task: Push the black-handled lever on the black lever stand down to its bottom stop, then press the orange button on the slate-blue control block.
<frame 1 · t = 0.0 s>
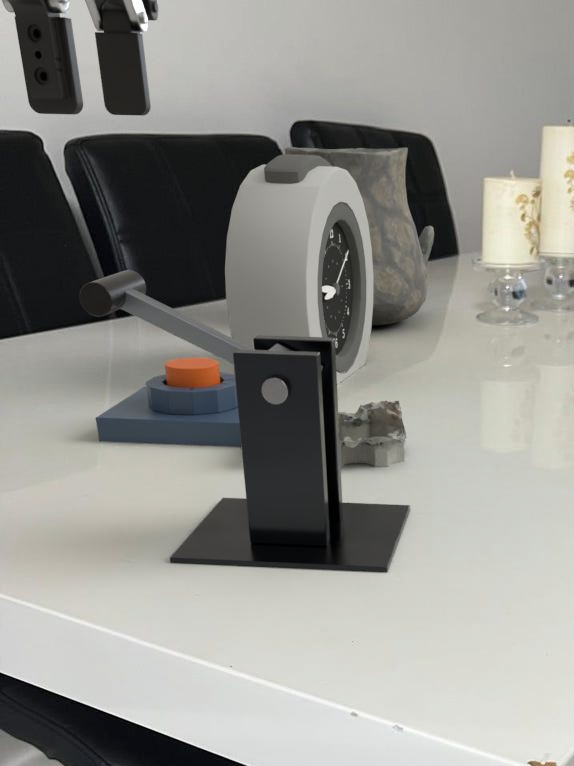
hand: (95, 114, 49), 23 cm above the table, tool pointing down, fingers open, 8 cm apart
start button: (192, 374, 77), point 5 cm above the table, slide at 0.1 cm
control block: (199, 437, 79), on the table
black lever stand: (299, 548, 59), on the table
vessel: (354, 324, 126), on the table
egg carton: (334, 468, 73), on the table
alarm clock: (311, 377, 99), on the table
toaster lever: (207, 338, 54), point 12 cm above the table, hinge at 25.0°
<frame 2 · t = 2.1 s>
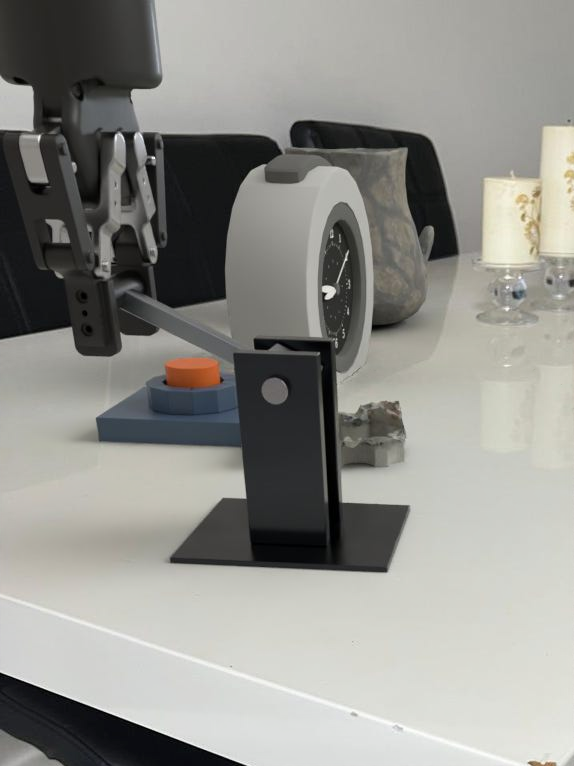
hand: (120, 342, 54), 12 cm above the table, tool pointing down, fingers closed on toaster lever, 5 cm apart
toaster lever: (207, 338, 54), point 12 cm above the table, hinge at 25.0°, touching gripper
everything else where it was.
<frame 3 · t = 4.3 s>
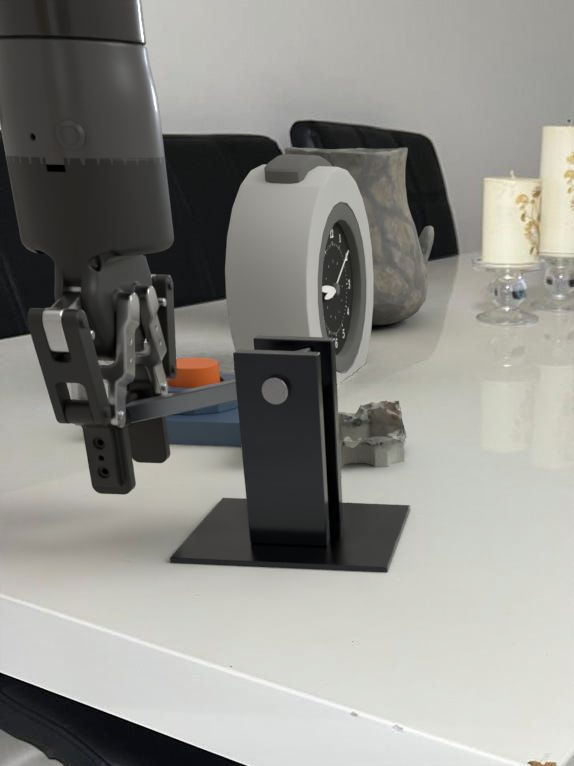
hand: (133, 474, 58), 4 cm above the table, tool pointing down, fingers closed on toaster lever, 5 cm apart
toaster lever: (207, 395, 55), point 9 cm above the table, hinge at -13.7°, touching gripper
everything else where it was.
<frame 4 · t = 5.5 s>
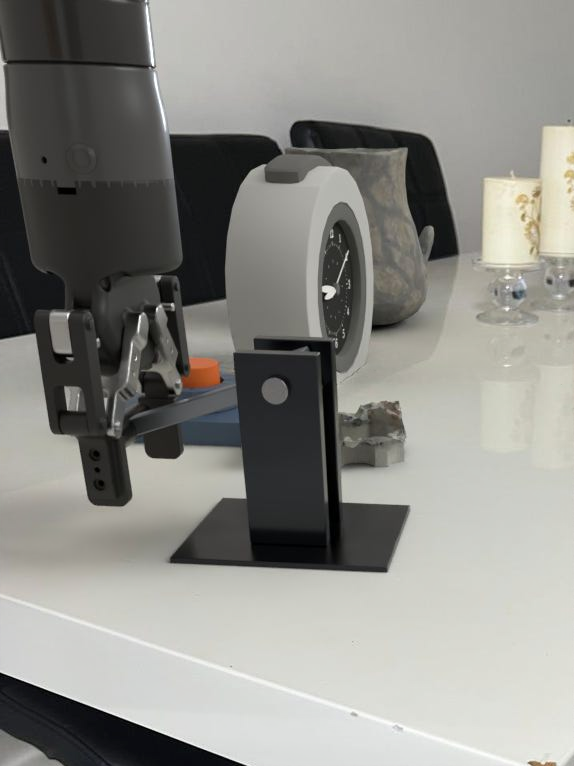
hand: (140, 479, 58), 4 cm above the table, tool pointing down, fingers open, 8 cm apart
toaster lever: (210, 402, 55), point 9 cm above the table, hinge at -18.1°
everything else where it was.
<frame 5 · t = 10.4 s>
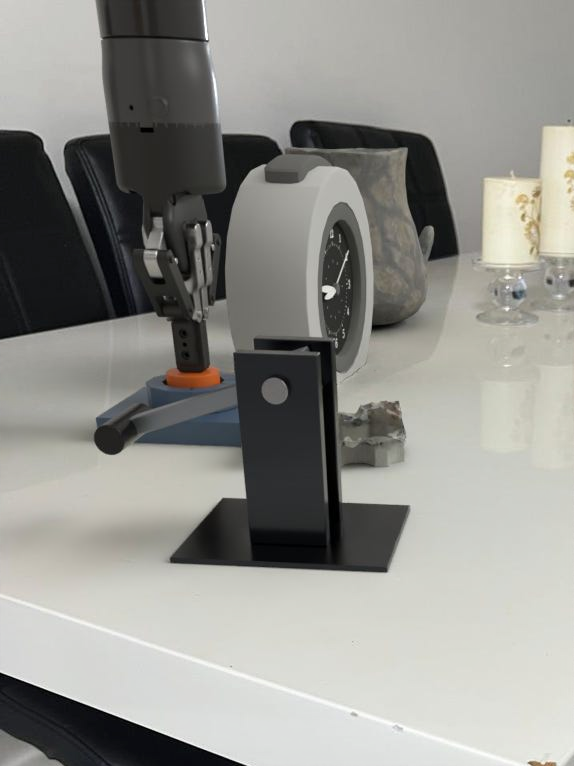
hand: (194, 370, 77), 5 cm above the table, tool pointing down, fingers closed
start button: (193, 382, 77), point 4 cm above the table, slide at -0.5 cm, touching gripper
everything else where it was.
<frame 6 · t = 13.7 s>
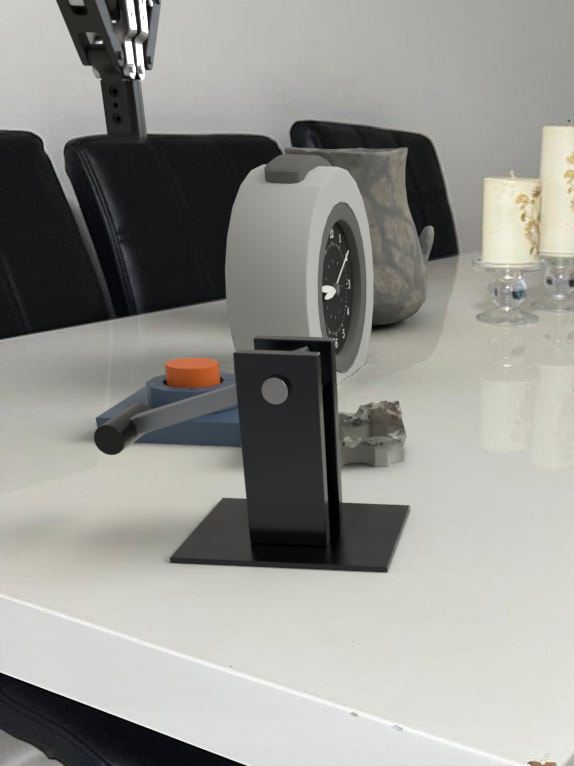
hand: (128, 142, 68), 21 cm above the table, tool pointing down, fingers closed
start button: (192, 374, 77), point 5 cm above the table, slide at 0.1 cm
everything else where it was.
at the end: toaster lever at -18° (first picture: +25°); start button pushed in 1.1 cm at the most during the clip, back to where it started at the end; start button slide at 0.1 cm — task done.
